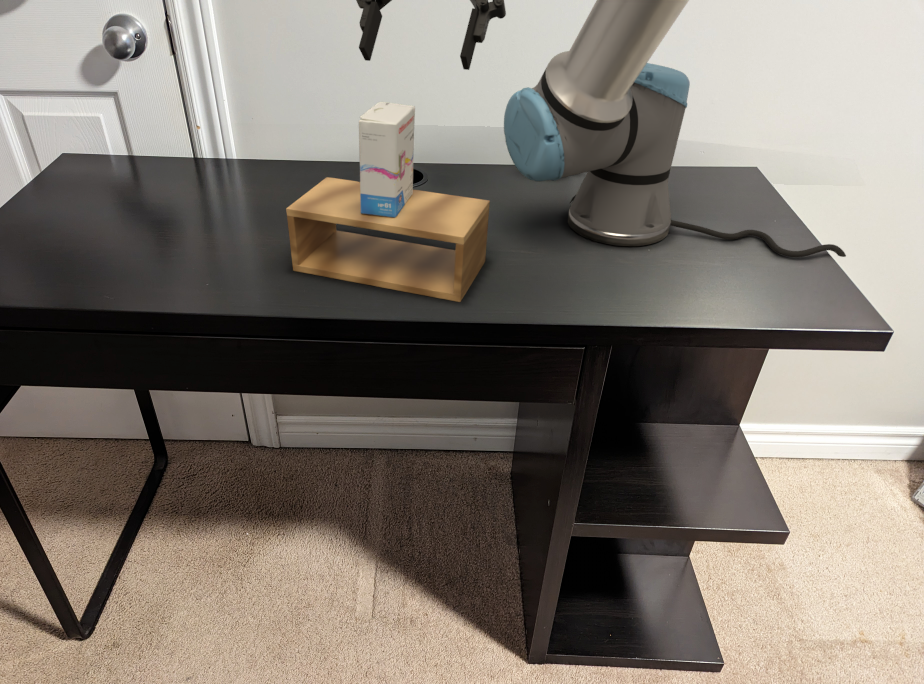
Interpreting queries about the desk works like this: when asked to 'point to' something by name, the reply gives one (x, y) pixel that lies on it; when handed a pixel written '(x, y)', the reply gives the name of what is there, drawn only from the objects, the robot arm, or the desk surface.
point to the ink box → (386, 158)
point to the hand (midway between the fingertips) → (413, 58)
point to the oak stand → (385, 258)
